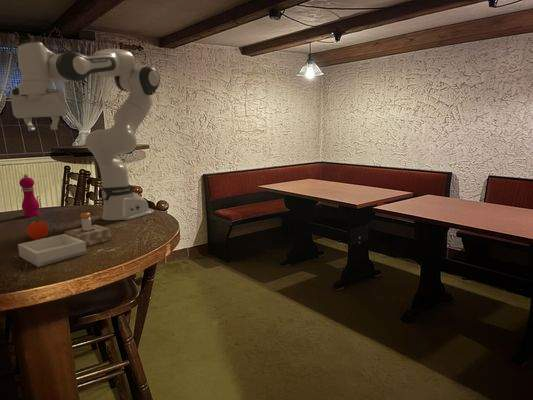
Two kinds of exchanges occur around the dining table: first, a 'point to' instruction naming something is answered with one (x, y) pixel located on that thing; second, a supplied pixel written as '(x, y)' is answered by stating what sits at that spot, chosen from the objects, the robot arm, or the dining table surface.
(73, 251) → the tray
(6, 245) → the dining table surface
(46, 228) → the clementine
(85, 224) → the pin
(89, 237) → the block
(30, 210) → the pepper mill
